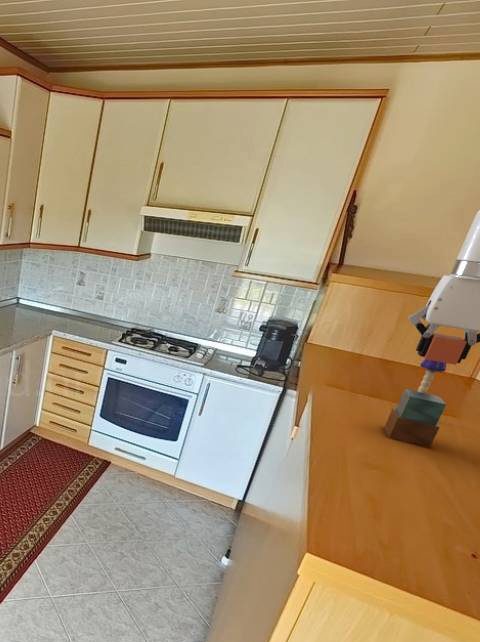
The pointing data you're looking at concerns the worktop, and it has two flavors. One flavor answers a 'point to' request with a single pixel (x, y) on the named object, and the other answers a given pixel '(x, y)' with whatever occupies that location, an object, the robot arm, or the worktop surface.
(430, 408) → the block stack
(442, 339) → the toy cube
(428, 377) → the toy lamp
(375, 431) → the worktop surface
